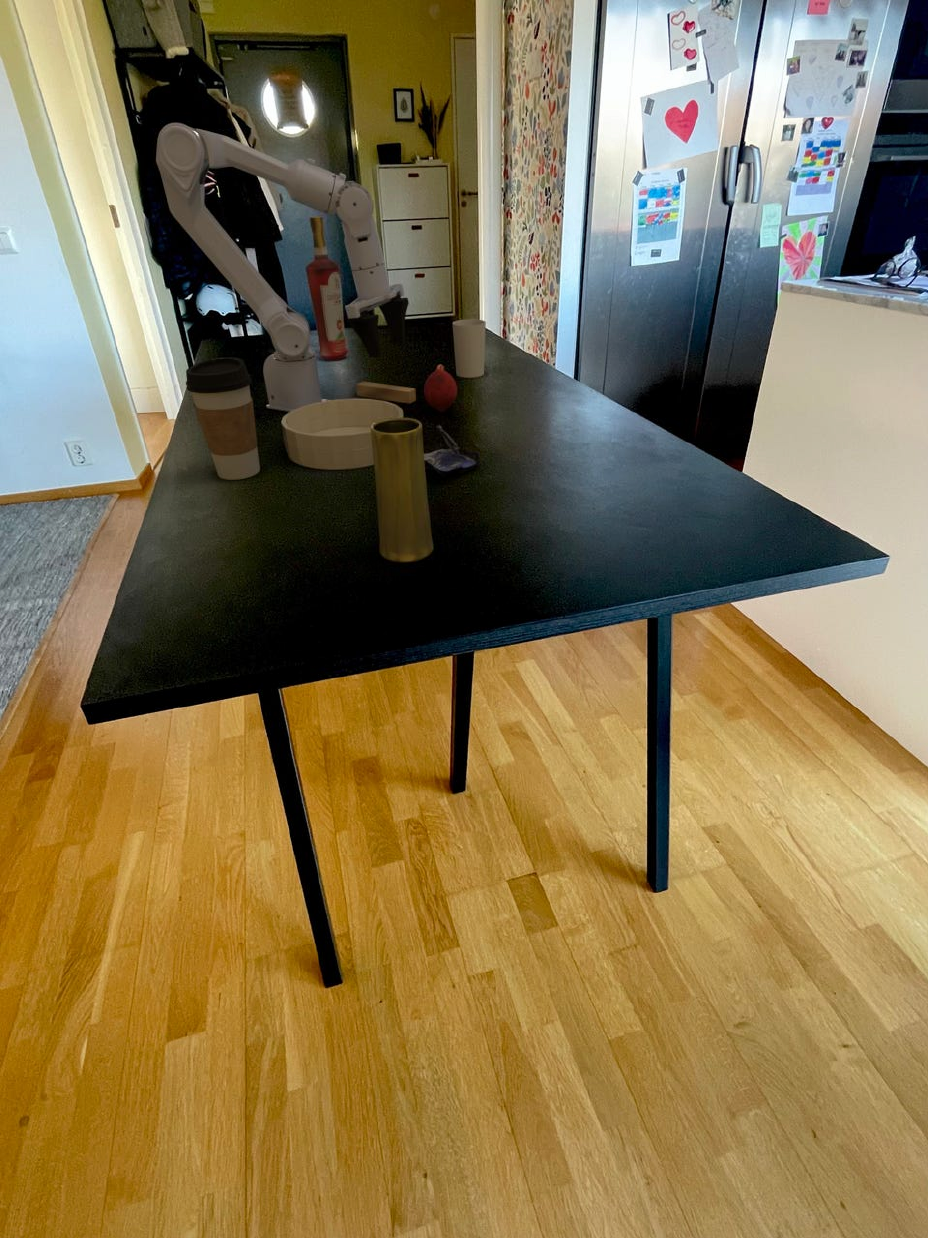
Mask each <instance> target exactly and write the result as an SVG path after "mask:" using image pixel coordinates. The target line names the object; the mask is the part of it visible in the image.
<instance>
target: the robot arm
mask: <svg viewBox="0 0 928 1238" xmlns="http://www.w3.org/2000/svg"><path fill="white" fill-rule="evenodd" d="M155 162H156V166H157V168H158V170H159V173H160V177H161V181H162V184H163V189H164V193H165V197H166V199H167V200H166V201H167V204H168V208H169V212H170V213H171V215H172V216H173V218H174V219H175V220H176V221H177V222H178V223H179V225H180V226H181V227H182V229H183V230H184V231H185V232H186V233H187V234H188V235H189V236H190V238H191V239H192V240H193V241H194V242H195V243H196V246H198V247H199V248H200V249H201V250H202V252H203V253H204V254H205V255H206V257H207V258H208V259H209V260H210V261H211V262H212V264H213V265H214V266H215V267H216V269H218V271H219V272H220V273H221V274H222V276H223V277H224V278H225V279H226V280H227V281H228V282H229V284H230V285H231V287H233V289H234V290H235V291H236V292H237V294H239V295H240V297H241V298H242V299H243V301H244V302H245V303H246V304H247V305H248V306H249V307H250V308H251V309H252V311H253V312H254V313H255V315H256V316H257V318H258V320H259V321H260V324H261V325H262V327H263V328H264V329H265V330H266V332H267V333H268V334H269V336H270V338H271V343H272V346H273V347H274V349H275V351H274V352H273V353H272V354H270V355H268V356H267V357H266V359H264V363H263V368H262V369H263V370H262V373H263V378H264V384H265V390H266V395H267V400H268V404H266V405H265V408H266V409H270V410H275V411H276V410H277V411H281V412H287V413H289V412H290V411H292V410H295V409H297V408H300V407H302V406H305V405H309V404H313V403H317V402H323V401H330V400H331V399H325V398H322V389H321V383H320V377H319V370H318V361H317V355H316V350H314V349H312V347H310V346H311V336H310V335H311V328H310V325H309V322H308V320H307V319H306V317H305V316H304V315H303V314H302V313H300V312H297V311H295V310H294V309H293V308H291V307H290V306H289V305H288V304H287V302H286V301H284V299H283V298H282V297H281V296H279V294H277V293H276V292H275V291H274V289H273V288H272V287H271V285H270V284H269V283H268V282H267V281H266V279H265V278H264V277H263V276H262V274H261V273H260V272H259V271H258V269H257V268H256V267H255V266H254V264H253V263H252V262H251V261H250V260H249V258H248V257H247V256H246V255H245V254H244V252H243V251H242V249H241V248H240V247H239V246H238V245H237V244H236V242H235V241H234V240H233V238H231V236H230V235H229V234H228V233H227V231H226V230H225V229H224V228H223V226H222V225H221V224H220V222H218V220H217V219H216V218H215V216H214V215H213V214H212V213H211V211H210V210H209V209H208V208H207V207H206V204H205V194H206V193H205V192H206V191H205V188H206V187H205V186H206V184H205V180H206V178H207V175H208V173H209V170H210V169H215V170H217V169H223V168H229V167H231V168H232V167H233V168H235V169H238V170H240V171H242V172H246V173H248V174H250V175H253V176H256V177H259V178H261V179H264V180H266V181H269V182H271V183H274V184H276V185H279V186H282V187H284V189H285V191H286V193H287V195H288V198H289V199H290V200H291V201H293V202H294V203H295V202H296V203H298V204H299V205H302V206H306V207H308V208H309V209H313V210H316V211H318V212H320V213H323V214H325V215H327V216H332V215H333V214H336V215H337V216H338V218H339V219H340V220H341V226H342V230H343V234H344V241H343V242H344V245H345V250H346V253H347V257H348V261H349V265H350V269H351V274H352V278H353V282H354V285H355V290H356V293H357V297H356V299H354V300H353V301H351V303H349V304H347V305H345V306H344V307H345V311H346V315H347V317H346V322H347V324H348V325H349V326H350V327H351V328H352V330H353V331H354V332H355V333H356V335H358V338H359V339H360V341H361V342H362V345H363V347H364V348H365V350H366V352H367V354H368V356H369V358H380V357H381V356H382V348H381V343H380V338H379V317H380V315H379V314H371V313H370V311H372V310H374V309H376V308H379V310H380V311H381V314H382V315H383V318H384V320H385V323H386V325H387V329H388V332H389V335H390V338H391V341H392V343H393V344H394V345H397V344H404V343H405V339H406V338H405V335H406V334H405V331H406V330H405V329H406V328H405V326H406V317H407V316H406V315H407V310H408V306H409V305H410V303H409V302H410V301H409V298H408V297H404V296H405V291H404V286H403V284H402V283H398V284H396V283H395V284H392V285H390V281H389V277H388V272H387V267H386V263H385V258H384V253H383V249H382V244H381V241H380V237H379V236H380V235H379V232H378V231H377V229H376V228H377V225H376V220H375V218H374V215H373V213H374V208H375V204H374V203H375V202H374V200H373V199H372V196H371V194H370V192H369V191H368V190H367V188H365V187H364V186H363V185H362V184H360V183H357V182H356V181H354V180H348V181H346V179H347V175H346V174H345V173H342V172H339V173H338V174H336V173H333V172H332V171H329V170H327V169H325V168H322V167H320V166H318V165H316V163H317V162H316V160H314V159H313V158H310V157H307V159H306V160H304V159H302V158H297V159H296V160H294V161H292V162H291V163H289V164H288V163H286V162H284V161H281V160H279V159H277V158H275V157H273V156H270V155H268V154H266V153H264V152H262V151H259V150H257V149H255V148H253V147H250V146H248V145H246V144H244V143H243V142H240V141H238V140H236V139H233V138H231V137H229V136H226V135H223V134H219V133H215V132H211V131H208V130H205V129H204V130H203V129H200V128H193V127H191V126H188V125H187V124H184V123H181V122H171V123H168V124H165V126H163V127H162V129H161V130H160V131H159V134H158V137H157V142H156V155H155Z"/></svg>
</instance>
